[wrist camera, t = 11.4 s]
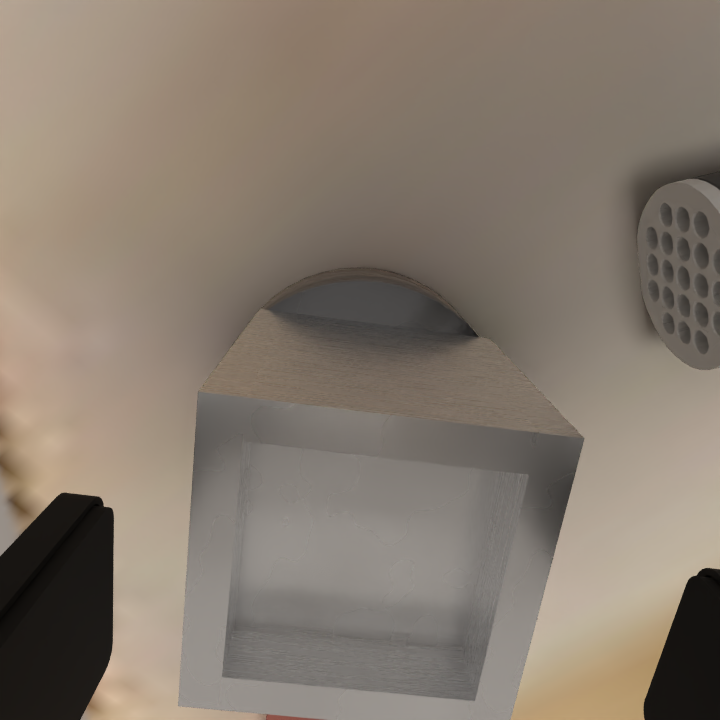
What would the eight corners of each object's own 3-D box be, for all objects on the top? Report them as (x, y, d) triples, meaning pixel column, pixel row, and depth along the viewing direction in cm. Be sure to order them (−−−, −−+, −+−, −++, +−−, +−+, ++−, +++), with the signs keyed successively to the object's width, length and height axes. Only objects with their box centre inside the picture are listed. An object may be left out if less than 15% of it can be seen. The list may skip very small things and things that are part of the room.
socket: (259, 309, 16) (198, 391, 10) (490, 339, 17) (583, 438, 10) (241, 515, 18) (178, 705, 11) (449, 538, 19) (505, 736, 12)
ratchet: (400, 819, 26) (417, 1039, 19) (196, 803, 25) (141, 1023, 19) (509, 286, 19) (595, 337, 13) (237, 250, 19) (176, 284, 12)
